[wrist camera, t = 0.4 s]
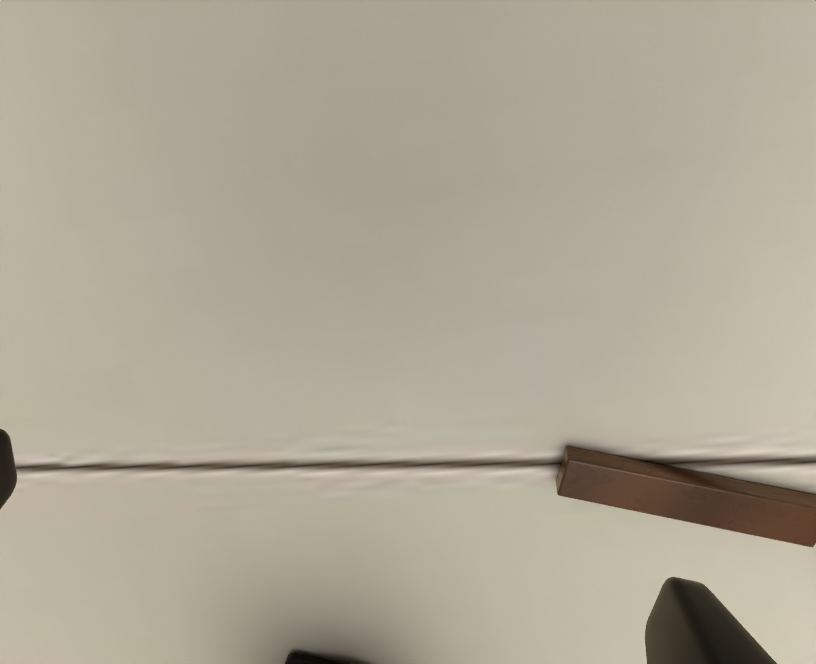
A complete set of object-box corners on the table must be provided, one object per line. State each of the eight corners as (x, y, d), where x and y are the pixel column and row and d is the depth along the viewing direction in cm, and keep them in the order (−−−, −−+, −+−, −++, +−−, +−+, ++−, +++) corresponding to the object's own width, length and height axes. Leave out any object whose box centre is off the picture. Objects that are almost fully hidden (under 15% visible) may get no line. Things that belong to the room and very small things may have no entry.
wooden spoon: (544, 518, 25) (545, 539, 24) (578, 401, 22) (582, 419, 21) (968, 606, 23) (990, 633, 22) (1057, 492, 21) (1086, 516, 20)
